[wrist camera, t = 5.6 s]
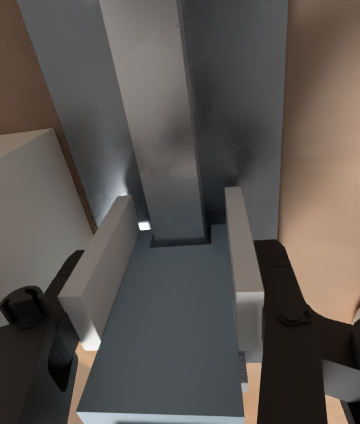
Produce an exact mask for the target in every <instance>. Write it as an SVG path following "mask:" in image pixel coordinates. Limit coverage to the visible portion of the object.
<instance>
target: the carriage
mask: <svg viewBox="0 0 360 424" xmlns="http://www.w3.org/2000/svg"><path fill="white" fill-rule="evenodd" d="M129 261H130V262H129V264H128V267H127V270H126V273H125V276H124V278H123V281H122V284H121V287H120V290H119V292H118V295H117V298H116V301H115V304H114V306H113V309H112V312H111V315H110V318H109V320H108V323H107V326H106V329H105V332H104V334H103V337H102V340H101V343H100V346H99V348H98V351H97V354H96V357H95V360H94V362H93V365H92V368H91V371H90V374H89V377H88V379H87V382H86V385H85V388H84V391H83V393H82V396H81V399H80V402H79V405H78V407H77V410H76V413H77V414H78V416H79V417H80V419H81V420H82V421H83V423H84V424H245V418H244V407H243V397H242V387H241V376H240V366H239V356H238V346H237V335H236V325H235V315H234V304H233V294H232V281H231V268H230V253H229V242H228V232H227V224H218V225H211V244H207V245H190V246H173V247H157V246H156V241H155V237H154V233H153V229H146V230H140V231H139V234H138V237H137V240H136V243H135V245H134V248H133V251H132V254H131V256H130V259H129Z"/></svg>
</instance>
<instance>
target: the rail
mask: <svg viewBox="0 0 360 424" xmlns="http://www.w3.org/2000/svg"><path fill="white" fill-rule="evenodd" d="M17 3H18V6H19V9H20V12H21V14H22V17H23V20H24V23H25V26H26V28H27V31H28V34H29V37H30V40H31V43H32V45H33V48H34V51H35V54H36V57H37V59H38V62H39V65H40V68H41V71H42V73H43V76H44V79H45V82H46V85H47V87H48V90H49V93H50V96H51V99H52V101H53V104H54V107H55V110H56V113H57V116H58V118H59V121H60V124H61V127H62V130H63V132H64V135H65V138H66V141H67V144H68V146H69V149H70V152H71V155H72V158H73V160H74V163H75V166H76V169H77V172H78V174H79V177H80V180H81V183H82V186H83V189H84V191H85V194H86V197H87V200H88V203H89V205H90V208H91V211H92V214H93V217H94V219H95V222H96V225H97V228H99V226H100V224H101V223H102V221H103V219H104V218H105V216H106V214H107V213H108V211H109V209H110V207H111V206H112V204H113V202H114V201H115V199H116V197H117V196H125V195H132V199H133V203H134V207H135V211H136V215H137V219H138V223H139V227H140V230H146V229H153V233H154V237H155V241H156V246H157V247H173V246H190V245H207V244H211V225H218V224H227V221H226V203H225V187H238V186H241V190H242V194H243V199H244V203H245V208H246V212H247V217H248V221H249V226H250V230H251V235H252V239H253V240H268V239H276V240H277V235H278V213H279V192H280V170H281V149H282V127H283V106H284V84H285V63H286V42H287V20H288V0H17ZM231 281H232V278H231ZM232 294H233V289H232ZM233 304H234V299H233ZM234 315H235V309H234ZM235 325H236V320H235ZM236 335H237V330H236ZM237 346H238V340H237ZM238 356H239V366H240V376H241V387H242V392H248V379H247V370H246V363H262V356H263V345H262V351H238Z"/></svg>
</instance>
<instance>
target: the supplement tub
mask: <svg viewBox="0 0 360 424" xmlns="http://www.w3.org/2000/svg"><path fill="white" fill-rule="evenodd" d="M358 319H360V308H359V309H358V311H357V312H356V314H355V316H354V319H353V322H352V325H354V322H356V321H357V320H358Z"/></svg>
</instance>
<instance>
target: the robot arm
mask: <svg viewBox="0 0 360 424" xmlns="http://www.w3.org/2000/svg"><path fill="white" fill-rule="evenodd" d="M225 203H226V221H227V232H228V242H229V253H230V268H231V278H232V289H233V299H234V309H235V320H236V330H237V340H238V351H262V345H263V356H262V368H261V380H260V392H259V404H258V416H257V424H328V422H327V412H326V402H325V394H326V395H329V396H332V397H334V398H337V399H339V400H340V402H341V405H342V408H343V410H344V413H345V416H346V418H347V421H348V424H360V319H358V320H357V321H356V322H354V325H351V324H347V323H343V322H339V321H335V320H331V319H328V318H325V317H323V316H321V315H319V314H317V313H316V312H315V311H313V310H312V308H311V307H310V306H309V305H308V304H306V302H305V300H304V298H303V295H302V293H301V290H300V287H299V285H298V282H297V279H296V277H295V274H294V271H293V268H292V267H291V263H290V260H289V259H288V255H287V252H286V250H285V247H284V246H283V245H282V244H281V243H280V242H279V241H277V240H276V239H268V240H253V239H252V235H251V230H250V226H249V221H248V217H247V212H246V208H245V203H244V199H243V194H242V190H241V186H238V187H225ZM139 231H140V227H139V223H138V219H137V215H136V211H135V207H134V203H133V199H132V195H125V196H117V197H116V199H115V201H114V202H113V204H112V206H111V207H110V209H109V211H108V213H107V214H106V216H105V218H104V219H103V221H102V223H101V224H100V226H99V228H98V229H97V231H96V233H95V234H94V236H93V238H92V240H91V241H90V243H89V245H88V246H87V248H86V250H76V251H75V252H74V253H73V254H71V255H70V256H69V257H68V258H67V259H66V261H65V262H64V264H63V265H62V267H61V269H60V270H59V271H58V273H57V274H56V277H54V279H53V280H52V282H51V283H50V285H49V286H48V288H47V290H46V291H45V293H43V292H42V290H41V288H40V287H37V286H35V285H33V286H25V287H22V288H19V289H17V290H15V291H13V292H11V293H10V294H8V295H7V296H6V297H5V298H3V299H2V301H1V302H0V311H1V312H2V314H3V315H4V317H5V318H6V320H7V321H8V322H9V324H8V325H5V326H2V327H0V424H67V421H68V416H69V410H70V405H71V399H72V394H73V388H74V382H75V376H76V371H77V366H78V356H77V354H76V353H75V350H76V348H77V346H78V343H79V341H80V342H81V344H82V346H83V348H84V350H98V348H99V346H100V343H101V340H102V337H103V334H104V332H105V329H106V326H107V323H108V320H109V318H110V315H111V312H112V309H113V306H114V304H115V301H116V298H117V295H118V292H119V290H120V287H121V284H122V281H123V278H124V276H125V273H126V270H127V267H128V264H129V262H130V261H129V259H130V256H131V254H132V251H133V248H134V245H135V243H136V240H137V237H138V234H139Z"/></svg>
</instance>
